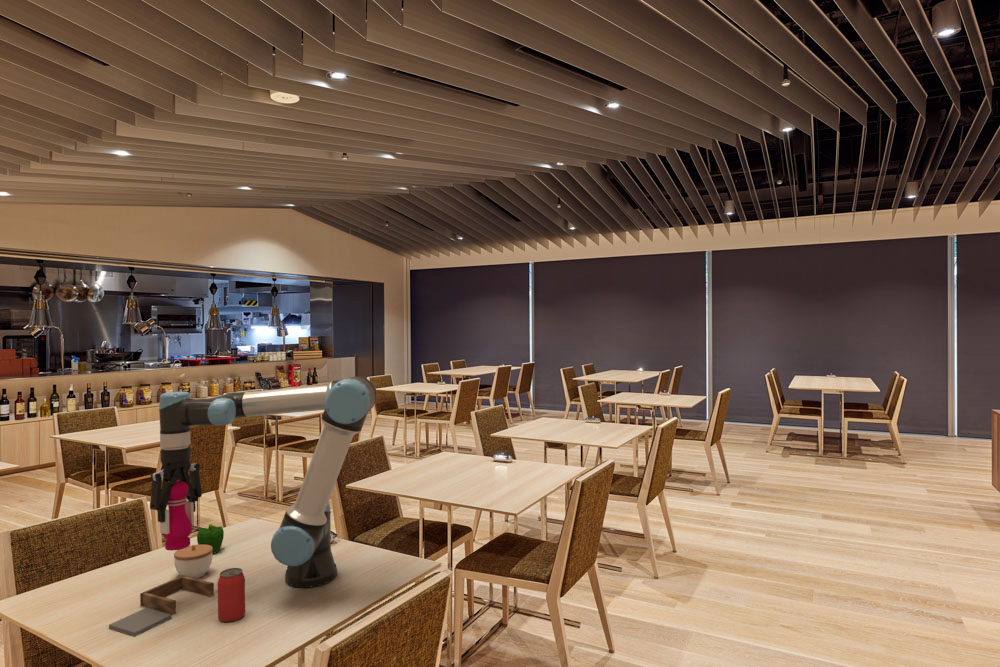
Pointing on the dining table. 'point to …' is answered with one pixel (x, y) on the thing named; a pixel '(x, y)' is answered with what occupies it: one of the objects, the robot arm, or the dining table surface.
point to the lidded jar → (193, 560)
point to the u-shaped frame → (157, 594)
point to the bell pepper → (211, 537)
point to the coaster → (140, 621)
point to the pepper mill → (178, 518)
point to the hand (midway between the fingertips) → (177, 528)
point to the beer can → (231, 595)
